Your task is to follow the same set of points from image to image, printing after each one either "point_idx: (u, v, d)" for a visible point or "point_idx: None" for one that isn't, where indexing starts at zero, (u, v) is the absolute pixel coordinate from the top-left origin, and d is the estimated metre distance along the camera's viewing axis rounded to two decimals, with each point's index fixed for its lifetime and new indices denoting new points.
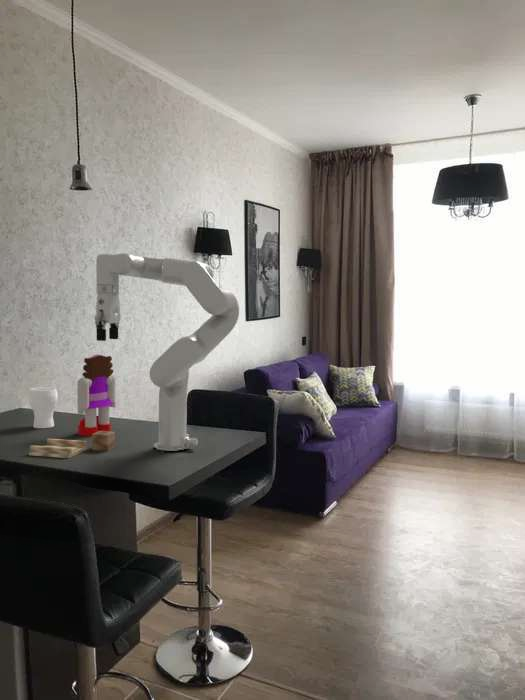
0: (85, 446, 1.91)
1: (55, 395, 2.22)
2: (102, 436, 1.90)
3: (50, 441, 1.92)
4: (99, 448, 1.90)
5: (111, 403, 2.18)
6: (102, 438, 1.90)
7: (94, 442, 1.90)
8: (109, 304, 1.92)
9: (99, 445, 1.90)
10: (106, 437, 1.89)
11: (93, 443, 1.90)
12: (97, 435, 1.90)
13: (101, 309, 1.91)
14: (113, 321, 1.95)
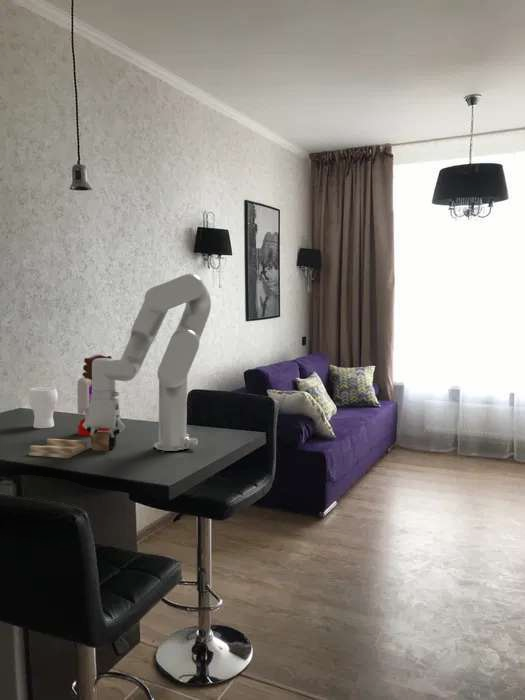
0: (85, 446, 1.91)
1: (55, 395, 2.22)
2: (102, 436, 1.90)
3: (50, 441, 1.92)
4: (99, 448, 1.90)
5: None
6: (102, 438, 1.90)
7: (94, 442, 1.90)
8: None
9: (99, 445, 1.90)
10: (106, 437, 1.89)
11: (93, 443, 1.90)
12: (97, 435, 1.90)
13: (117, 414, 1.91)
14: None
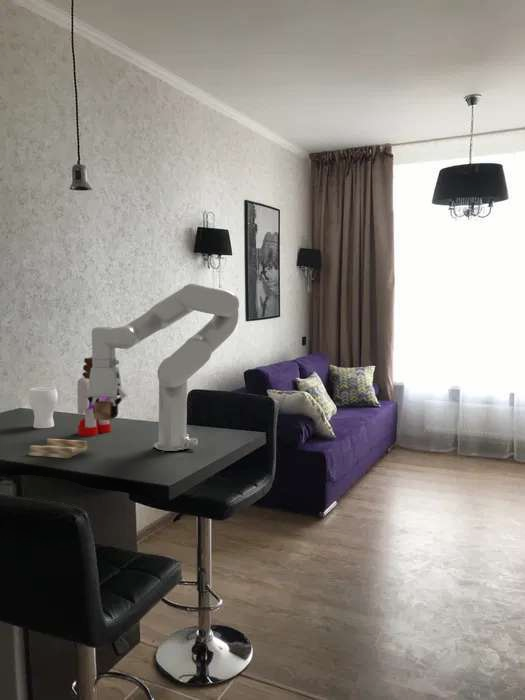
0: (85, 446, 1.91)
1: (55, 395, 2.22)
2: (104, 405, 1.89)
3: (50, 441, 1.92)
4: (101, 417, 1.89)
5: None
6: (104, 407, 1.89)
7: (96, 411, 1.90)
8: None
9: (101, 414, 1.89)
10: (108, 405, 1.89)
11: (95, 412, 1.90)
12: (99, 404, 1.89)
13: (118, 383, 1.90)
14: None
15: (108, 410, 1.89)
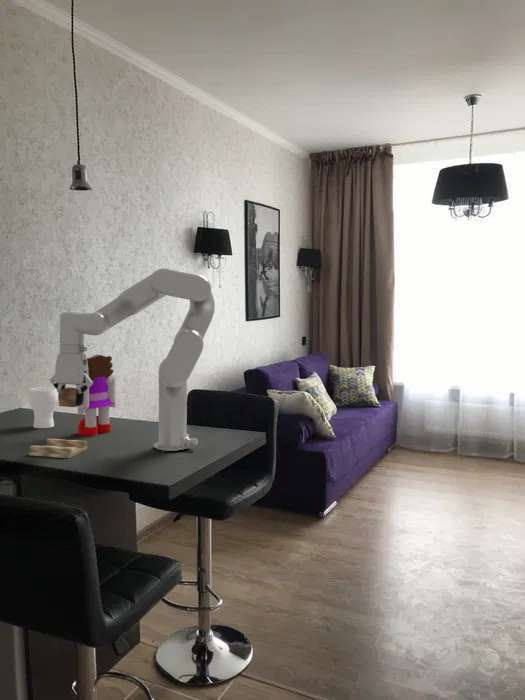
0: (85, 446, 1.91)
1: (55, 395, 2.22)
2: (69, 391, 1.84)
3: (50, 441, 1.92)
4: (66, 404, 1.85)
5: (111, 403, 2.18)
6: (69, 394, 1.84)
7: (61, 397, 1.85)
8: None
9: (66, 401, 1.85)
10: (73, 392, 1.84)
11: (60, 399, 1.85)
12: (64, 390, 1.85)
13: (85, 370, 1.86)
14: None
15: (73, 397, 1.84)
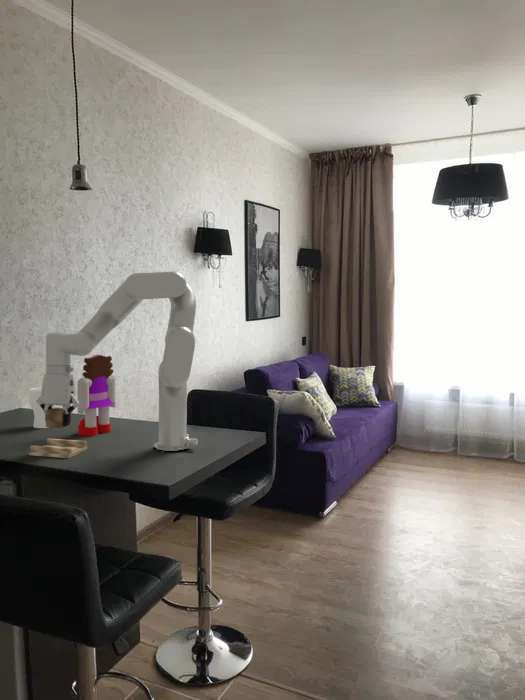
0: (85, 446, 1.91)
1: None
2: (55, 412, 1.83)
3: (50, 441, 1.92)
4: (52, 425, 1.84)
5: (111, 403, 2.18)
6: (55, 414, 1.83)
7: (47, 418, 1.84)
8: None
9: (52, 422, 1.84)
10: (59, 413, 1.83)
11: (46, 420, 1.84)
12: (50, 411, 1.84)
13: (72, 390, 1.85)
14: None
15: (60, 418, 1.83)
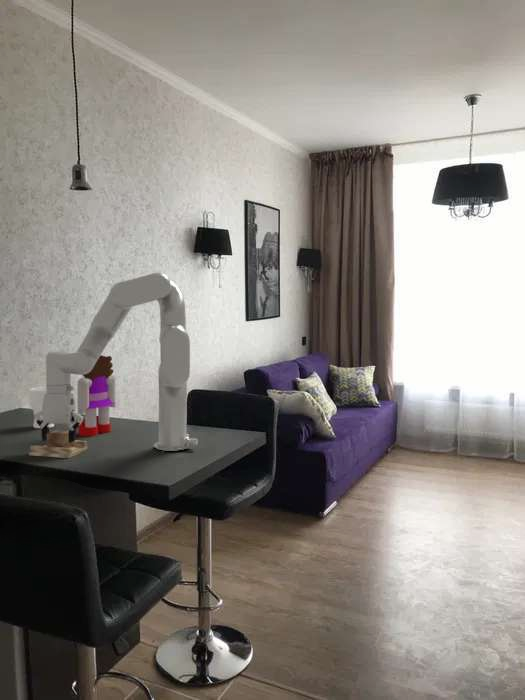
0: (85, 446, 1.91)
1: None
2: (57, 436, 1.84)
3: None
4: None
5: (111, 403, 2.18)
6: (57, 438, 1.84)
7: (49, 442, 1.85)
8: None
9: (54, 445, 1.84)
10: (61, 437, 1.84)
11: (47, 443, 1.85)
12: (51, 435, 1.84)
13: (72, 409, 1.85)
14: None
15: (61, 441, 1.84)
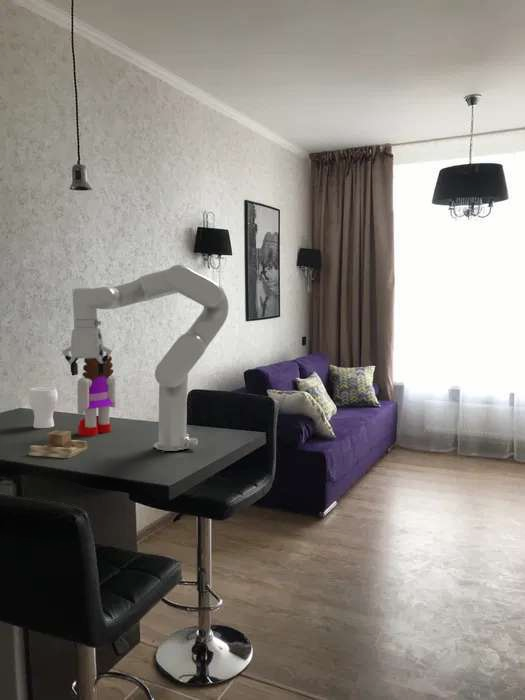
0: (85, 446, 1.91)
1: (55, 395, 2.22)
2: (57, 436, 1.84)
3: None
4: None
5: (111, 403, 2.18)
6: (57, 438, 1.84)
7: (49, 442, 1.85)
8: None
9: (54, 445, 1.84)
10: (61, 437, 1.84)
11: (47, 443, 1.85)
12: (51, 435, 1.84)
13: (100, 343, 1.91)
14: None
15: (61, 441, 1.84)
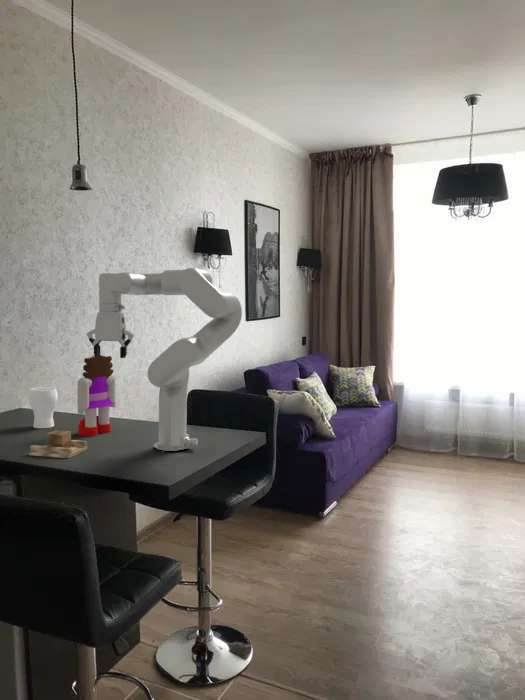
0: (85, 446, 1.91)
1: (55, 395, 2.22)
2: (57, 436, 1.84)
3: None
4: None
5: (111, 403, 2.18)
6: (57, 438, 1.84)
7: (49, 442, 1.85)
8: None
9: (54, 445, 1.84)
10: (61, 437, 1.84)
11: (47, 443, 1.85)
12: (51, 435, 1.84)
13: (123, 327, 1.98)
14: None
15: (61, 441, 1.84)
